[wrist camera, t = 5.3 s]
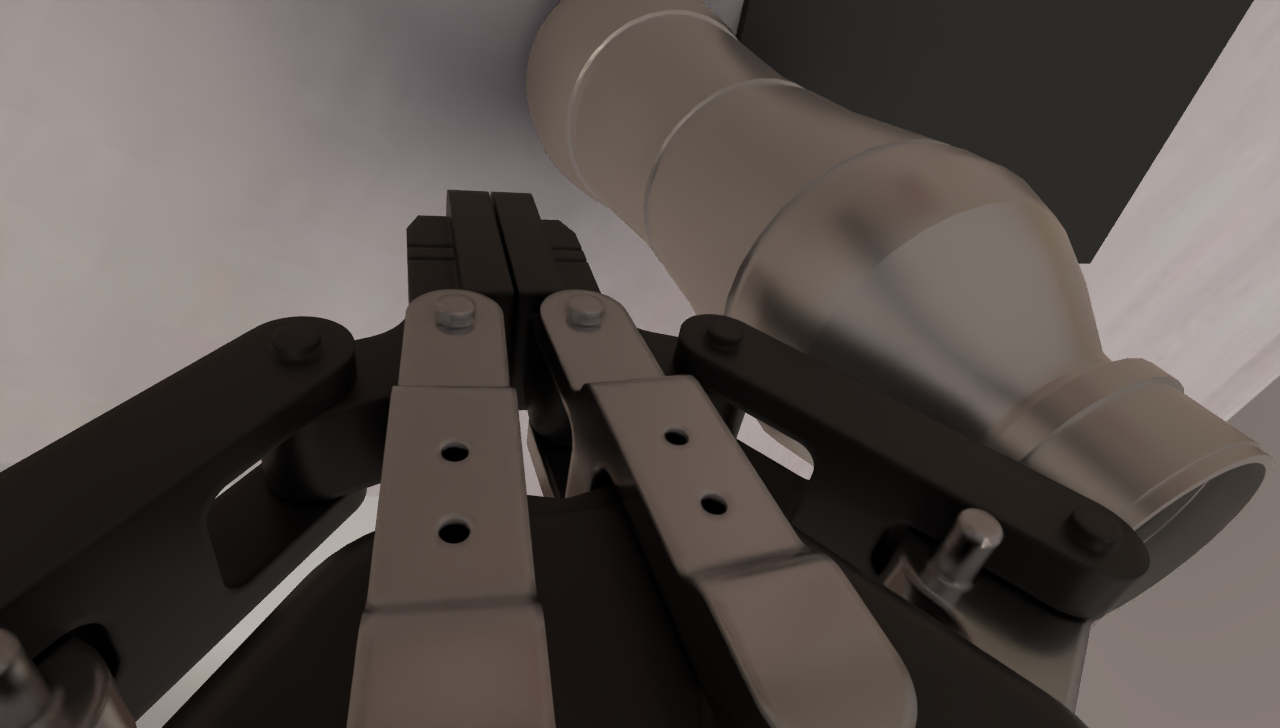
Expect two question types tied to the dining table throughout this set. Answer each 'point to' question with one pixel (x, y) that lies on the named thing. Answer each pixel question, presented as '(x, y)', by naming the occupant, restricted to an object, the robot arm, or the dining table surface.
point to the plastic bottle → (877, 262)
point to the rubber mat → (1012, 81)
